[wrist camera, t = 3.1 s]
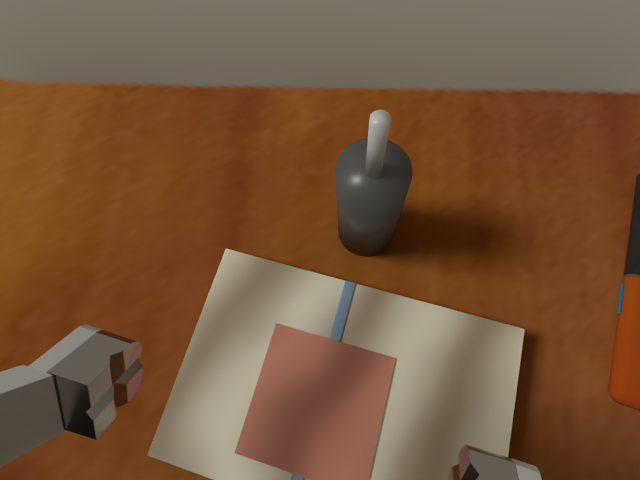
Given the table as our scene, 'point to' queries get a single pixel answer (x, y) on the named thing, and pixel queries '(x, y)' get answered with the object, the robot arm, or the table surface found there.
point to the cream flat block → (334, 381)
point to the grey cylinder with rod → (371, 188)
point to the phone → (628, 319)
